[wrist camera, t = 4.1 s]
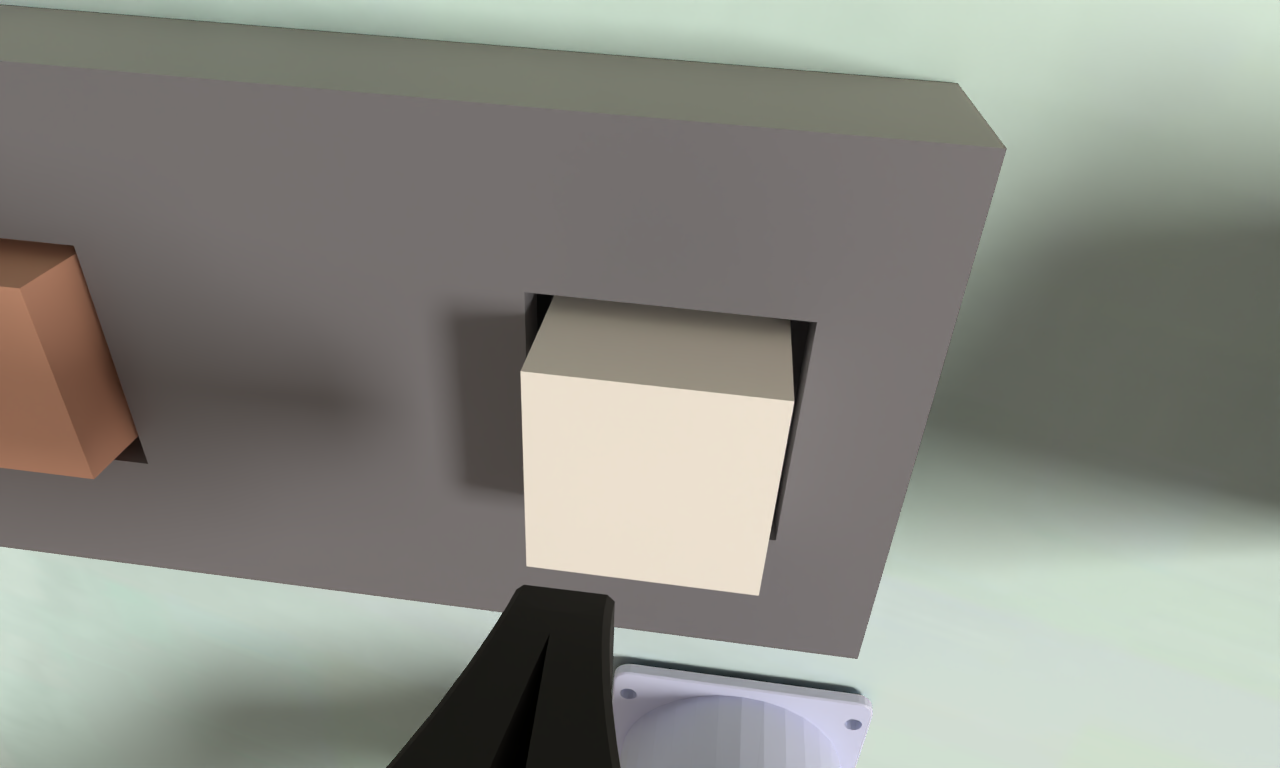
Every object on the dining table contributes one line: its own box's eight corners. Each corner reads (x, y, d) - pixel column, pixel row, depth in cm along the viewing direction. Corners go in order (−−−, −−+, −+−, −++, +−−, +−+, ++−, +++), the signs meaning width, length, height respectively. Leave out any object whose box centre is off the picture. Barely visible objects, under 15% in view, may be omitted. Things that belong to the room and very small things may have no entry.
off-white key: (759, 492, 19) (758, 595, 16) (557, 469, 19) (526, 566, 17) (789, 313, 16) (794, 401, 14) (557, 289, 17) (520, 371, 14)
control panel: (843, 538, 23) (857, 658, 20) (11, 438, 25) (-106, 532, 22) (957, 83, 17) (1006, 148, 13) (-188, -11, 18) (-401, 25, 15)
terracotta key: (174, 399, 21) (93, 479, 18) (-1, 379, 21) (-105, 454, 18) (122, 224, 18) (19, 288, 16) (-76, 204, 18) (-208, 263, 16)
